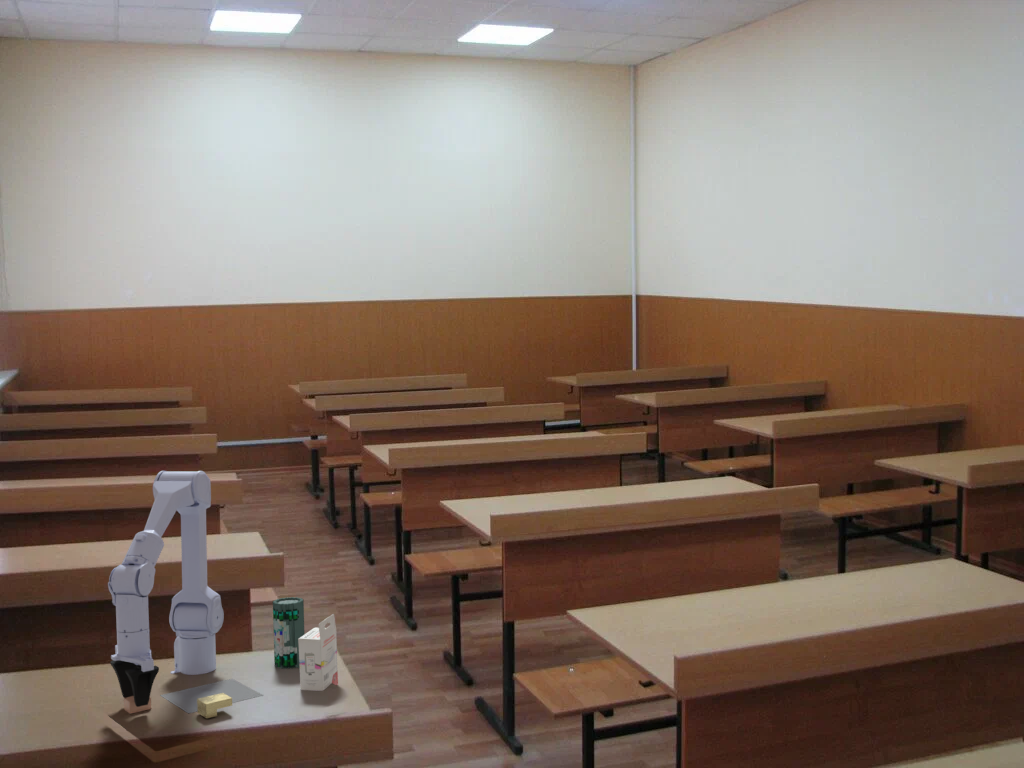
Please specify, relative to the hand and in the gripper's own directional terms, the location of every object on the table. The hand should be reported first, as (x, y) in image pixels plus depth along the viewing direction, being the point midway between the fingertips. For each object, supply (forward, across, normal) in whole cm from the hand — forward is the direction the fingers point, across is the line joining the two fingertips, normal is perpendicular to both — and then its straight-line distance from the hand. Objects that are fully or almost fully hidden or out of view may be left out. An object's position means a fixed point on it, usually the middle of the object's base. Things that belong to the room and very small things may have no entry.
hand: (135, 700), depth 201 cm
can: (+3, -6, +35) cm, 36 cm away
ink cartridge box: (+3, +10, +33) cm, 35 cm away
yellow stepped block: (+1, +13, +10) cm, 16 cm away
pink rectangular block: (+4, 0, 0) cm, 4 cm away
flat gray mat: (+3, +2, +14) cm, 14 cm away
